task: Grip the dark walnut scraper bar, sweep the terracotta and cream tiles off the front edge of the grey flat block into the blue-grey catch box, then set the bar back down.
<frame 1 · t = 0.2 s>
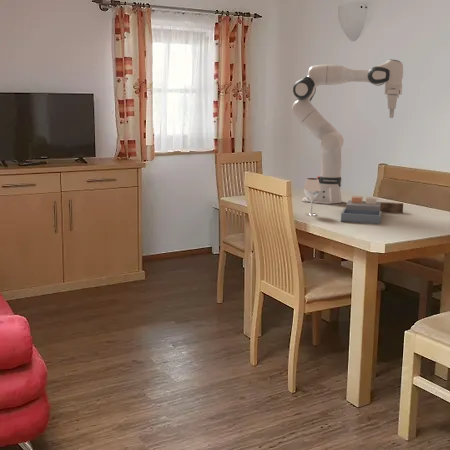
hand: (391, 117, 326), 47 cm above the table, fingers open, 8 cm apart
wineglass: (311, 214, 305), on the table
scraper bar: (388, 212, 315), on the table
grey flat block: (363, 215, 305), on the table
tile cream: (371, 202, 306), point 6 cm above the table, touching grey flat block
tile terracotta: (357, 202, 307), point 6 cm above the table, touching grey flat block
catch box: (361, 220, 292), on the table
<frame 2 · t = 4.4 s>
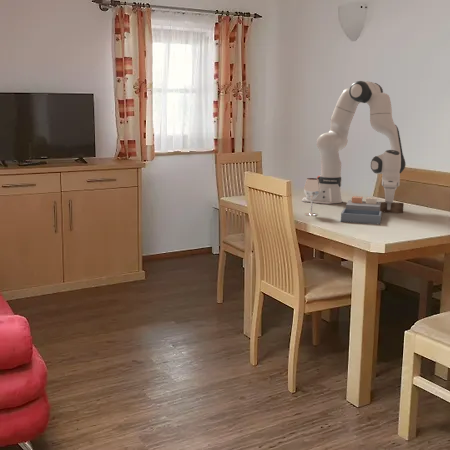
hand: (388, 208, 314), 2 cm above the table, fingers closed on scraper bar, 3 cm apart
scraper bar: (388, 212, 315), on the table, touching gripper
everything else where it was.
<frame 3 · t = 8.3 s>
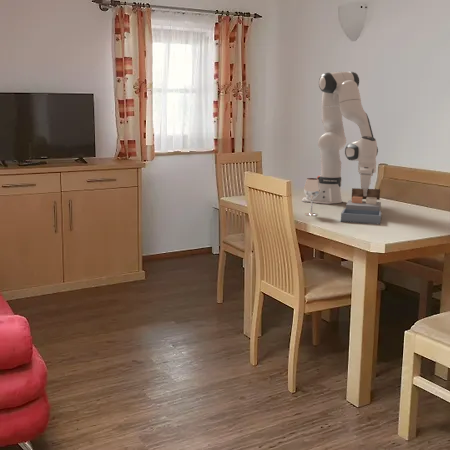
hand: (365, 195, 313), 8 cm above the table, fingers closed on scraper bar, 3 cm apart
scraper bar: (365, 198, 314), point 7 cm above the table, touching gripper
everything else where it was.
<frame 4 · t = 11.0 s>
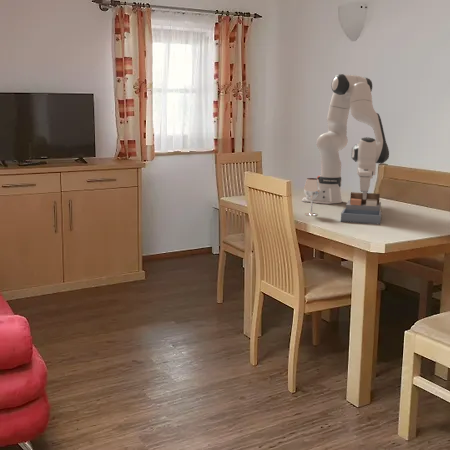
hand: (364, 198, 304), 8 cm above the table, fingers closed on scraper bar, 3 cm apart
scraper bar: (364, 203, 304), point 6 cm above the table, touching gripper, tile cream
tile cream: (371, 205, 299), point 6 cm above the table, touching scraper bar
tile terracotta: (355, 204, 301), point 6 cm above the table
everything else where it was.
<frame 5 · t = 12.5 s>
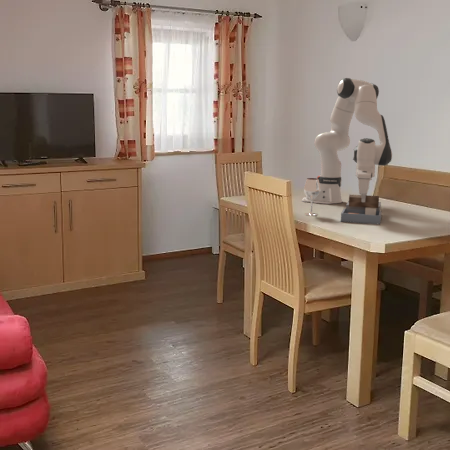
hand: (363, 201, 296), 8 cm above the table, fingers closed on scraper bar, 4 cm apart
scraper bar: (363, 205, 297), point 6 cm above the table, tilted 14°, touching gripper, grey flat block
tile cream: (370, 212, 295), point 3 cm above the table, tilted 90°, touching catch box
tile terracotta: (353, 213, 291), point 3 cm above the table, tilted 180°, touching catch box
everything else where it was.
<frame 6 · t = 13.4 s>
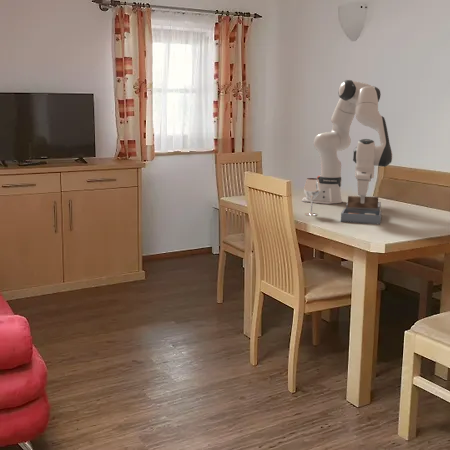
hand: (362, 202, 293), 8 cm above the table, fingers closed on scraper bar, 3 cm apart
scraper bar: (362, 207, 293), point 6 cm above the table, touching gripper
tile cream: (369, 214, 291), point 3 cm above the table, tilted 180°, touching catch box
everything else where it was.
when the fingers open (2 cm above the table, at t = 21.8 s): scraper bar stays where it is, on the table.
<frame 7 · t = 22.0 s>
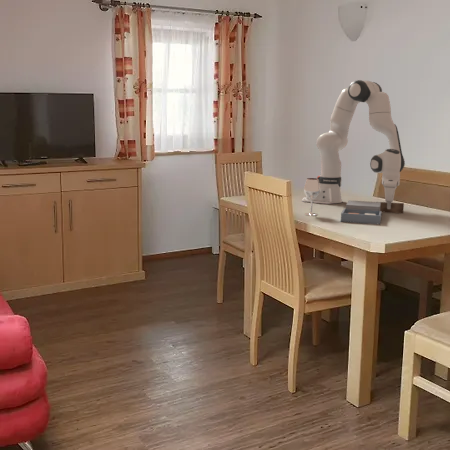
hand: (388, 207, 314), 2 cm above the table, fingers open, 5 cm apart
scraper bar: (389, 212, 315), on the table
everything else where it was.
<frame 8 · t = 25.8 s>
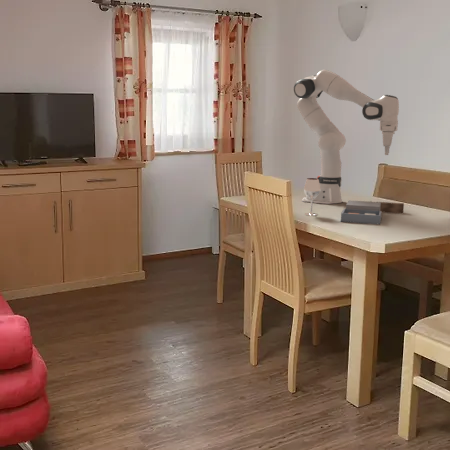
hand: (386, 154, 316), 29 cm above the table, fingers open, 8 cm apart
nothing on the table moved.
at the end: tile terracotta inside the target area (3.9 cm from its centre), point 3.1 cm above the table; tile cream inside the target area (4.0 cm from its centre), point 3.1 cm above the table; the gripper is holding nothing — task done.
